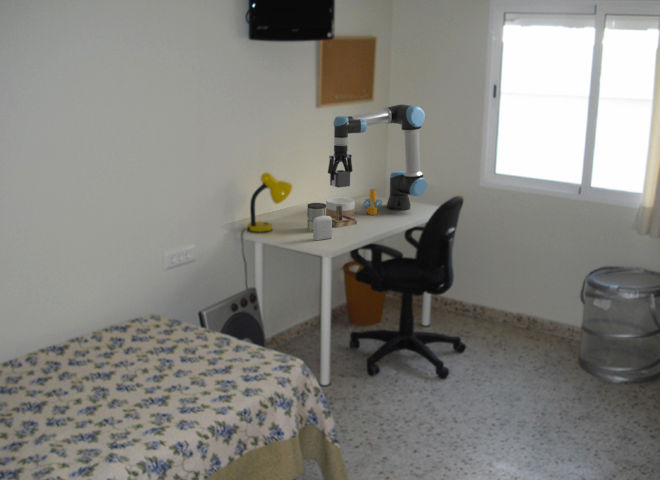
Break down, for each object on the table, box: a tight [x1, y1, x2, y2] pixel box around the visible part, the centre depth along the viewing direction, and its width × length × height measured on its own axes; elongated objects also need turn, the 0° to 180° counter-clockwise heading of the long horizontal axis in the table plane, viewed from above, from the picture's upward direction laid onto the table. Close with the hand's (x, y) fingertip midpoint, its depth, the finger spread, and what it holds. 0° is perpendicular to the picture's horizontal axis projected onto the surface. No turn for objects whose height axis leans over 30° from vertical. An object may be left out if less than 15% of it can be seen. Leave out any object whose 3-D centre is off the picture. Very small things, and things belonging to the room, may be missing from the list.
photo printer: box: [312, 215, 333, 241], centre depth 352 cm, size 10×4×12 cm, turn 118°
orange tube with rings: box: [362, 188, 383, 216], centre depth 406 cm, size 12×10×15 cm
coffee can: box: [306, 202, 327, 233], centre depth 369 cm, size 10×10×14 cm
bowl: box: [325, 196, 356, 217], centre depth 407 cm, size 17×17×8 cm
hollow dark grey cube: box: [329, 169, 351, 188], centre depth 378 cm, size 8×8×8 cm
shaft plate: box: [330, 206, 358, 228], centre depth 384 cm, size 14×14×10 cm
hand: (339, 185), depth 379 cm, fingers closed on hollow dark grey cube, 8 cm apart
